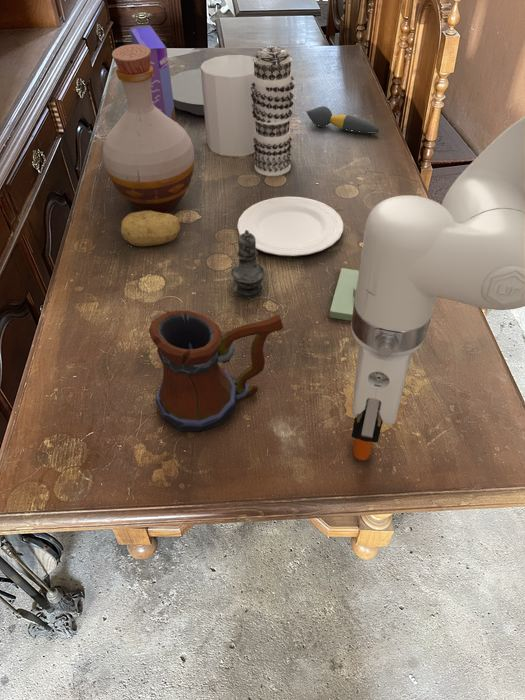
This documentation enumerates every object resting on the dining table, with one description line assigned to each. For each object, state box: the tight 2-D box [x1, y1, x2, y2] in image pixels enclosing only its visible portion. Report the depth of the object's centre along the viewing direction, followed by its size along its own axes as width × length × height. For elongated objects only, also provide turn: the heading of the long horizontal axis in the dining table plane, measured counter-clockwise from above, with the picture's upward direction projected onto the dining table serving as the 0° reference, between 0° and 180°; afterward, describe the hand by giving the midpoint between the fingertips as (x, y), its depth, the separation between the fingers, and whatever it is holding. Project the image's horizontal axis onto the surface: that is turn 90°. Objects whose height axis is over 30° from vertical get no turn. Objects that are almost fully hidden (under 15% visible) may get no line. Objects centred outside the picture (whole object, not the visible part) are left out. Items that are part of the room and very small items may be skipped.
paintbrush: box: [306, 105, 380, 135], centre depth 138 cm, size 20×5×5 cm, turn 71°
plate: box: [236, 196, 344, 258], centre depth 107 cm, size 21×21×2 cm
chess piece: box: [230, 230, 266, 299], centre depth 91 cm, size 6×6×12 cm
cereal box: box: [129, 24, 177, 123], centre depth 127 cm, size 17×5×24 cm, turn 20°
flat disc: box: [170, 67, 205, 116], centre depth 152 cm, size 28×28×4 cm
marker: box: [352, 411, 378, 461], centre depth 67 cm, size 2×2×11 cm
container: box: [199, 54, 256, 157], centre depth 129 cm, size 14×14×18 cm
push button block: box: [328, 267, 359, 322], centre depth 91 cm, size 14×12×3 cm
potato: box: [120, 210, 181, 247], centre depth 103 cm, size 7×11×6 cm, turn 94°
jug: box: [102, 43, 195, 214], centre depth 105 cm, size 20×18×30 cm
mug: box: [148, 310, 284, 432], centre depth 72 cm, size 18×12×15 cm, turn 99°
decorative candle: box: [251, 45, 295, 177], centre depth 117 cm, size 9×9×25 cm
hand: (366, 427), depth 67 cm, fingers closed on marker, 2 cm apart
